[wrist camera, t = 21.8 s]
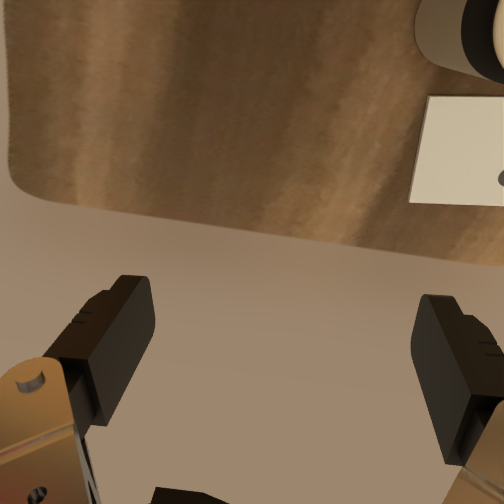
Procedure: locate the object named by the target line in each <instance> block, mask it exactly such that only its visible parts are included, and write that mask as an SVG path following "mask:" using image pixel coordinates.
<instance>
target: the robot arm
mask: <svg viewBox="0 0 504 504" xmlns="http://www.w3.org/2000/svg"><path fill="white" fill-rule="evenodd" d="M154 329H155V313H154V306H153V300H152V294H151V287H150V282H149V279H148V278H147V277H146V276H134V275H121V276H120V277H119V278H118V279H117V280H116V282H115V283H114V284H113V286H112V287H111V288H110V290H102V291H101V292H99V293H98V294H96V295H95V296H93V297H92V298H90V299H89V300H88V301H87V302H86V303H85V305H84V306H83V307H82V308H81V310H80V311H79V313H78V314H77V315H76V316H75V317H74V318H73V319H72V322H71V323H69V324H68V326H67V327H66V328H65V329H64V330H63V332H62V333H61V334H60V335H59V337H58V338H57V339H56V340H55V341H54V343H53V344H52V345H51V347H50V348H49V349H48V350H47V351H46V353H45V354H44V355H43V356H42V357H39V358H33V359H29V360H26V361H24V362H21V363H19V364H17V365H16V366H14V367H12V368H11V369H10V370H8V371H7V372H6V373H5V374H4V375H3V376H2V377H1V378H0V504H102V503H101V500H100V496H99V491H98V487H97V483H96V479H95V475H94V471H93V467H92V462H91V458H90V454H89V450H88V446H87V442H86V439H85V434H86V433H87V431H88V429H89V427H90V425H97V426H107V425H108V423H109V421H110V419H111V417H112V415H113V413H114V411H115V409H116V407H117V405H118V403H119V401H120V399H121V397H122V395H123V393H124V391H125V389H126V387H127V386H128V384H129V382H130V380H131V378H132V376H133V374H134V371H135V370H136V368H137V366H138V364H139V362H140V360H141V358H142V356H143V354H144V352H145V350H146V348H147V346H148V344H149V342H150V340H151V338H152V336H153V333H154ZM411 356H412V360H413V363H414V366H415V369H416V373H417V376H418V379H419V382H420V385H421V389H422V391H423V395H424V398H425V401H426V404H427V407H428V411H429V414H430V417H431V420H432V423H433V427H434V430H435V433H436V436H437V439H438V443H439V445H440V449H441V452H442V455H443V458H444V462H445V464H449V465H458V466H463V467H462V468H461V470H460V472H459V473H458V475H457V477H456V479H455V481H454V483H453V484H452V487H451V488H450V490H449V492H448V494H447V496H446V498H445V499H444V501H443V503H442V504H504V354H503V352H502V350H501V348H500V347H499V346H498V345H497V342H496V340H495V338H494V337H493V335H492V333H491V332H490V330H489V329H488V327H486V326H485V325H484V324H483V323H481V322H480V321H479V320H478V319H477V318H475V317H474V316H473V315H464V314H463V313H462V311H461V309H460V307H459V305H458V303H457V302H456V300H455V298H454V297H453V296H446V295H445V296H444V295H430V294H424V295H423V296H422V297H421V299H420V303H419V307H418V311H417V315H416V320H415V324H414V328H413V332H412V337H411ZM150 504H229V503H226V502H224V501H222V500H219V499H217V498H214V497H212V496H210V495H208V494H205V493H202V492H194V491H186V490H177V489H169V488H162V487H161V488H160V487H156V488H155V491H154V494H153V497H152V500H151V503H150Z"/></svg>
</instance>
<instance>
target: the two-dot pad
mask: <svg viewBox="0 0 504 504" xmlns="http://www.w3.org/2000/svg"><path fill="white" fill-rule="evenodd" d="M408 201H409V202H410V203H436V204H463V205H489V206H504V96H440V95H428V97H427V102H426V107H425V113H424V118H423V123H422V128H421V133H420V138H419V143H418V149H417V154H416V159H415V164H414V169H413V174H412V179H411V185H410V190H409V195H408Z"/></svg>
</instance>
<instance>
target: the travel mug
mask: <svg viewBox="0 0 504 504" xmlns="http://www.w3.org/2000/svg"><path fill="white" fill-rule="evenodd" d="M414 31H415V39H416V42H417V45H418V48H419V50H420V51H421V53H422V54H423V55H424V57H425V58H426V59H428V60H429V61H430V62H432V63H433V64H435V65H438V66H441V67H444V68H448V69H452V70H455V71H459V72H462V73H466V74H469V75H473V76H477V77H480V78H484V79H487V80H491V81H494V82H498V83H502V84H504V0H422V1H421V3H420V5H419V8H418V10H417V14H416V18H415V27H414Z"/></svg>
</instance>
